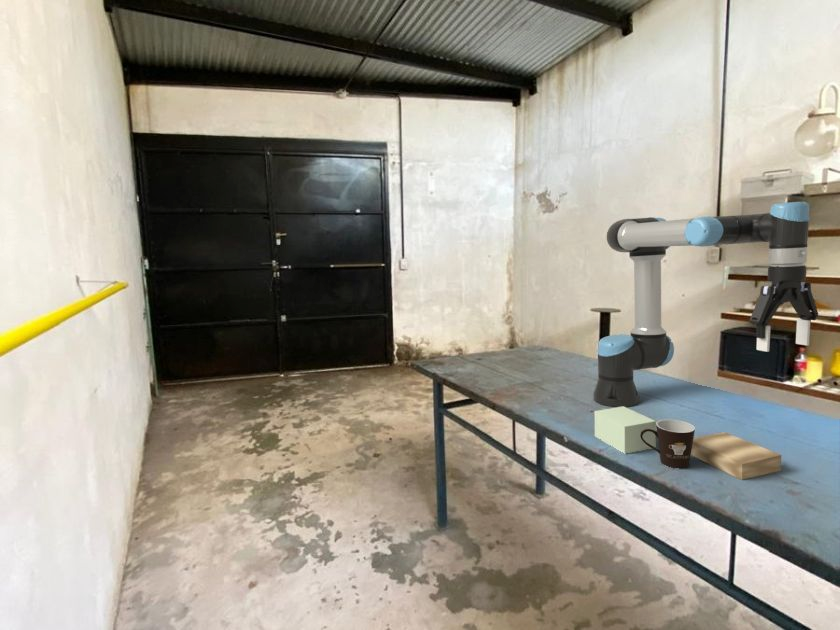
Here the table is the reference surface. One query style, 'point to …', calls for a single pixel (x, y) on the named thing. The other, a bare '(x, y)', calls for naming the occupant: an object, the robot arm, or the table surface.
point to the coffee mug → (673, 442)
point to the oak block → (735, 455)
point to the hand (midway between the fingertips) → (782, 347)
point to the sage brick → (624, 429)
